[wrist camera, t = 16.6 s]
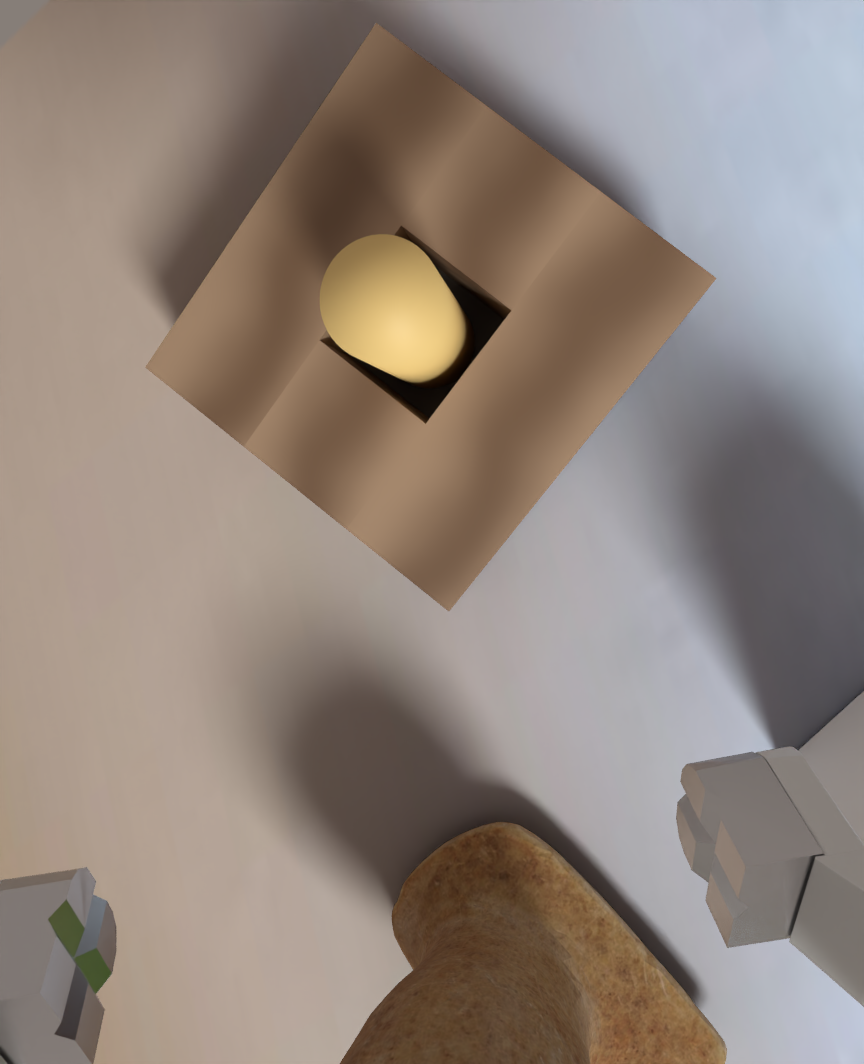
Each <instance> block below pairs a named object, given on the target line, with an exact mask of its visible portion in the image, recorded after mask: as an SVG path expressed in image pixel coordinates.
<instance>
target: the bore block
mask: <svg viewBox="0 0 864 1064" xmlns="http://www.w3.org/2000/svg"><path fill="white" fill-rule="evenodd" d="M377 234H388V235H394V236H398V237H401V238H404V239H406V240H408V241H410V242H412V243H414V244H415V245H417V246H418V247H419V248H420V249H421V250H422V251H424V252H425V254H426V255H427V256H428V257H429V258H430V260H431V261H432V263H433V265H434V266H435V268H436V269H437V271H438V272H439V274H440V275H441V277H442V278H443V280H444V282H445V283H446V285H447V286H448V288H449V289H450V291H451V292H452V294H453V295H454V297H455V298H456V300H457V302H458V303H459V305H460V306H461V308H462V309H463V311H464V312H465V314H466V315H467V317H468V319H469V320H470V322H471V325H472V328H473V331H474V337H475V346H474V353H473V356H472V359H471V361H470V363H469V366H468V367H467V369H466V370H465V371H464V372H463V374H462V375H461V376H460V377H459V378H457V379H456V380H455V381H453V382H452V383H450V384H448V385H445V386H443V387H439V388H432V389H427V388H420V387H416V386H413V385H411V384H409V383H407V382H405V381H403V380H401V379H399V378H397V377H395V376H393V375H391V374H389V373H387V372H385V371H383V370H380V369H378V368H376V367H374V366H372V365H370V364H368V363H366V362H364V361H362V360H360V359H358V358H356V357H354V356H352V355H350V354H348V353H347V352H345V351H344V350H343V349H342V348H340V347H339V346H338V345H337V344H336V343H335V341H334V340H333V339H332V338H331V336H330V334H329V333H328V331H327V329H326V327H325V325H324V322H323V319H322V316H321V311H320V289H321V284H322V281H323V277H324V275H325V272H326V270H327V268H328V266H329V265H330V263H331V262H332V260H333V259H334V258H335V256H336V255H337V254H338V253H339V252H340V251H341V250H342V249H343V248H345V247H346V246H347V245H349V244H350V243H352V242H354V241H356V240H358V239H360V238H363V237H366V236H370V235H377ZM715 280H716V278H715V277H714V276H713V275H711V274H710V273H709V272H707V271H706V270H705V269H703V268H702V267H701V266H699V265H698V264H697V263H695V262H694V261H693V260H691V259H690V258H689V257H687V256H686V255H685V254H683V253H682V252H681V251H679V250H678V249H677V248H675V247H674V246H673V245H671V244H670V243H669V242H667V241H666V240H665V239H663V238H662V237H661V236H659V235H658V234H657V233H655V232H654V231H653V230H651V229H650V228H649V227H647V226H646V225H645V224H643V223H642V222H641V221H639V220H638V219H637V218H635V217H634V216H633V215H631V214H630V213H629V212H627V211H626V210H625V209H623V208H622V207H621V206H619V205H618V204H617V203H615V202H614V201H613V200H611V199H610V198H609V197H607V196H606V195H605V194H603V193H602V192H601V191H599V190H598V189H597V188H595V187H594V186H593V185H591V184H590V183H589V182H587V181H586V180H585V179H583V178H582V177H581V176H579V175H578V174H577V173H575V172H574V171H573V170H571V169H570V168H569V167H568V166H566V165H565V164H564V163H562V162H561V161H560V160H558V159H557V158H556V157H554V156H553V155H552V154H550V153H549V152H548V151H546V150H545V149H544V148H542V147H541V146H540V145H538V144H537V143H536V142H534V141H533V140H532V139H530V138H529V137H528V136H526V135H525V134H524V133H522V132H521V131H520V130H518V129H517V128H516V127H514V126H513V125H512V124H510V123H509V122H508V121H506V120H505V119H504V118H502V117H501V116H500V115H498V114H497V113H496V112H494V111H493V110H492V109H490V108H489V107H488V106H486V105H485V104H484V103H482V102H481V101H480V100H478V99H477V98H476V97H474V96H473V95H472V94H470V93H469V92H468V91H466V90H465V89H464V88H462V87H461V86H460V85H458V84H457V83H456V82H454V81H453V80H452V79H450V78H449V77H448V76H446V75H445V74H444V73H442V72H441V71H440V70H438V69H437V68H436V67H434V66H433V65H432V64H430V63H429V62H428V61H426V60H425V59H424V58H422V57H421V56H420V55H418V54H417V53H416V52H414V51H413V50H412V49H410V48H409V47H408V46H406V45H405V44H404V43H402V42H401V41H400V40H398V39H397V38H396V37H394V36H393V35H392V34H390V33H389V32H388V31H386V30H385V29H384V28H382V27H381V26H380V25H378V24H377V23H376V24H375V25H374V27H373V28H372V30H371V31H370V33H369V34H368V36H367V37H366V39H365V40H364V42H363V43H362V45H361V46H360V48H359V49H358V51H357V52H356V54H355V55H354V57H353V58H352V60H351V61H350V63H349V64H348V66H347V67H346V69H345V70H344V71H343V73H342V74H341V76H340V77H339V79H338V80H337V82H336V83H335V85H334V86H333V88H332V89H331V91H330V92H329V94H328V95H327V97H326V98H325V100H324V101H323V103H322V104H321V106H320V107H319V109H318V110H317V112H316V113H315V115H314V116H313V118H312V119H311V121H310V122H309V124H308V125H307V127H306V128H305V130H304V131H303V133H302V134H301V136H300V137H299V139H298V140H297V142H296V143H295V145H294V146H293V148H292V149H291V151H290V152H289V154H288V155H287V157H286V158H285V160H284V161H283V163H282V164H281V166H280V167H279V169H278V170H277V171H276V173H275V174H274V176H273V177H272V179H271V180H270V182H269V183H268V185H267V186H266V188H265V189H264V191H263V192H262V194H261V195H260V197H259V198H258V200H257V201H256V203H255V204H254V206H253V207H252V209H251V210H250V212H249V213H248V215H247V216H246V218H245V219H244V221H243V222H242V224H241V225H240V227H239V228H238V230H237V231H236V233H235V234H234V236H233V237H232V239H231V240H230V242H229V243H228V245H227V246H226V248H225V249H224V251H223V252H222V254H221V255H220V257H219V258H218V260H217V261H216V263H215V264H214V266H213V267H212V268H211V270H210V271H209V273H208V274H207V276H206V277H205V279H204V280H203V282H202V283H201V285H200V286H199V288H198V289H197V291H196V292H195V294H194V295H193V297H192V298H191V300H190V301H189V303H188V304H187V306H186V307H185V309H184V310H183V312H182V313H181V315H180V316H179V318H178V319H177V321H176V322H175V324H174V325H173V327H172V328H171V330H170V331H169V333H168V334H167V336H166V337H165V339H164V340H163V342H162V343H161V345H160V346H159V348H158V349H157V351H156V352H155V354H154V355H153V357H152V358H151V360H150V361H149V363H148V364H147V365H146V368H147V369H148V370H149V371H151V372H152V373H153V374H154V375H155V376H157V377H158V378H159V379H160V380H162V381H163V382H164V383H165V384H167V385H168V386H169V387H170V388H172V389H173V390H174V391H175V392H177V393H178V394H179V395H180V396H182V397H183V398H184V399H185V400H187V401H188V402H189V403H190V404H192V405H193V406H194V407H195V408H197V409H198V410H199V411H200V412H201V413H203V414H204V415H205V416H206V417H208V418H209V419H210V420H211V421H213V422H214V423H215V424H216V425H218V426H219V427H220V428H221V429H223V430H224V431H225V432H226V433H228V434H229V435H230V436H231V437H233V438H234V439H235V440H236V441H238V442H239V443H240V444H241V445H243V446H244V447H245V448H246V449H247V450H249V451H250V452H251V453H252V454H254V455H255V456H256V457H257V458H259V459H260V460H261V461H262V462H264V463H265V464H266V465H267V466H269V467H270V468H271V469H272V470H274V471H275V472H276V473H277V474H279V475H280V476H281V477H282V478H284V479H285V480H286V481H287V482H289V483H290V484H291V485H292V486H293V487H295V488H296V489H297V490H298V491H300V492H301V493H302V494H303V495H305V496H306V497H307V498H308V499H310V500H311V501H312V502H313V503H315V504H316V505H317V506H318V507H320V508H321V509H322V510H323V511H325V512H326V513H327V514H328V515H330V516H331V517H332V518H333V519H335V520H336V521H337V522H338V523H340V524H341V525H342V526H343V527H344V528H346V529H347V530H348V531H349V532H351V533H352V534H353V535H354V536H356V537H357V538H358V539H359V540H361V541H362V542H363V543H364V544H366V545H367V546H368V547H369V548H371V549H372V550H373V551H374V552H376V553H377V554H378V555H379V556H381V557H382V558H383V559H384V560H386V561H387V562H388V563H389V564H390V565H392V566H393V567H394V568H395V569H397V570H398V571H399V572H400V573H402V574H403V575H404V576H405V577H407V578H408V579H409V580H410V581H412V582H413V583H414V584H415V585H417V586H418V587H419V588H420V589H422V590H423V591H424V592H425V593H427V594H428V595H429V596H430V597H432V598H433V599H434V600H435V601H436V602H438V603H439V604H440V605H441V606H443V607H444V608H445V609H446V610H448V611H450V609H451V608H452V607H453V606H454V604H455V603H456V602H457V601H458V599H459V598H460V597H461V596H462V594H463V593H464V592H465V591H466V589H467V588H468V587H469V586H470V585H471V583H472V582H473V581H474V580H475V578H476V577H477V576H478V575H479V573H480V572H481V571H482V570H483V568H484V567H485V566H486V565H487V563H488V562H489V561H490V560H491V558H492V557H493V556H494V555H495V553H496V552H497V551H498V550H499V548H500V547H501V546H502V545H503V543H504V542H505V541H506V540H507V538H508V537H509V536H510V535H511V533H512V532H513V531H514V530H515V528H516V527H517V526H518V525H519V524H520V522H521V521H522V520H523V519H524V517H525V516H526V515H527V514H528V512H529V511H530V510H531V509H532V507H533V506H534V505H535V504H536V502H537V501H538V500H539V499H540V497H541V496H542V495H543V494H544V492H545V491H546V490H547V489H548V487H549V486H550V485H551V484H552V482H553V481H554V480H555V479H556V477H557V476H558V475H559V474H560V472H561V471H562V470H563V469H564V467H565V466H566V465H567V464H568V463H569V461H570V460H571V459H572V458H573V456H574V455H575V454H576V453H577V451H578V450H579V449H580V448H581V446H582V445H583V444H584V443H585V441H586V440H587V439H588V438H589V436H590V435H591V434H592V433H593V431H594V430H595V429H596V428H597V426H598V425H599V424H600V423H601V421H602V420H603V419H604V418H605V416H606V415H607V414H608V413H609V411H610V410H611V409H612V408H613V406H614V405H615V404H616V403H617V402H618V400H619V399H620V398H621V397H622V395H623V394H624V393H625V392H626V390H627V389H628V388H629V387H630V385H631V384H632V383H633V382H634V380H635V379H636V378H637V377H638V375H639V374H640V373H641V372H642V370H643V369H644V368H645V367H646V365H647V364H648V363H649V362H650V360H651V359H652V358H653V357H654V355H655V354H656V353H657V352H658V350H659V349H660V348H661V347H662V345H663V344H664V343H665V342H666V341H667V339H668V338H669V337H670V336H671V334H672V333H673V332H674V331H675V329H676V328H677V327H678V326H679V324H680V323H681V322H682V321H683V319H684V318H685V317H686V316H687V314H688V313H689V312H690V311H691V309H692V308H693V307H694V306H695V304H696V303H697V302H698V301H699V299H700V298H701V297H702V296H703V294H704V293H705V292H706V291H707V289H708V288H709V287H710V286H711V284H712V283H713V282H714V281H715Z"/></svg>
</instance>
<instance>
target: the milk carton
mask: <svg viewBox="0 0 864 1064" xmlns="http://www.w3.org/2000/svg"><path fill="white" fill-rule="evenodd" d="M798 751H799V752H800V753H801V754H802V755H803V757H804V758H805V760H806V761H807V763H808V764H809V766H810V767H811V769H812V770H813V771H814V773H815V774H816V776H817V777H818V779H819V780H820V782H821V783H822V785H823V786H824V787H825V789H826V790H827V792H828V793H829V795H830V796H831V798H832V799H833V801H834V802H835V803H836V805H837V806H838V808H839V809H840V811H841V812H842V814H843V815H844V817H845V818H846V819H847V821H848V822H849V824H850V825H851V827H852V828H853V830H854V831H855V833H856V834H857V836H858V837H859V838H860V840H861V841H862V843H863V844H864V691H863V692H862V693H861V694H860V695H859V696H858V697H856V698H855V699H854V700H853V701H852V702H851V703H850V704H849V705H848V706H847V707H845V708H844V709H843V710H842V711H841V712H840V713H839V714H838V715H837V716H836V717H834V718H833V719H832V720H831V721H830V722H829V723H828V724H827V725H826V726H825V727H823V728H822V729H821V730H820V731H819V732H818V733H817V734H816V735H815V736H814V737H812V738H811V739H810V740H809V741H808V742H807V743H806V744H805V745H804V746H803V747H801V748H800V749H799V750H798Z"/></svg>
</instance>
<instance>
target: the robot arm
mask: <svg viewBox="0 0 864 1064" xmlns="http://www.w3.org/2000/svg"><path fill="white" fill-rule="evenodd" d="M680 782H681V784H682V786H683V788H684V790H685V792H686V794H685V795H684V796H683V797H682V798H681V799H680V800H679V801H678V804H677V815H676V820H677V826H678V833H679V838H680V841H681V844H682V848H683V851H684V854H685V856H686V858H687V860H688V863H689V865H690V867H691V870H692V871H693V872H695V873H696V874H698V875H699V876H700V877H702V878H703V879H704V880H706V881H707V882H708V883H709V884H708V890H707V895H706V903H707V905H708V907H709V909H710V911H711V913H712V916H713V918H714V920H715V922H716V924H717V926H718V929H719V931H720V933H721V935H722V937H723V939H724V942H725V944H726V946H727V948H729V947H736V946H742V945H748V944H755V943H761V942H768V941H774V940H781V939H787V938H790V941H789V942H790V943H791V944H792V945H794V946H795V947H796V948H797V949H798V950H799V951H800V952H802V953H803V954H804V955H805V956H806V957H807V958H808V959H810V960H811V961H812V962H813V963H814V964H815V965H816V966H818V967H819V968H820V969H821V970H822V971H823V972H824V973H826V974H827V975H828V976H829V977H830V978H831V979H832V980H834V981H835V982H836V983H837V984H838V985H839V986H840V987H842V988H843V989H844V990H845V991H846V992H847V993H848V994H850V995H851V996H852V997H853V998H854V999H855V1000H856V1001H858V1002H859V1003H860V1004H861V1005H862V1006H863V1007H864V844H863V843H862V841H861V840H860V838H859V837H858V836H857V834H856V833H855V831H854V830H853V828H852V827H851V825H850V824H849V822H848V821H847V819H846V818H845V817H844V815H843V814H842V812H841V811H840V809H839V808H838V806H837V805H836V803H835V802H834V801H833V799H832V798H831V796H830V795H829V793H828V792H827V790H826V789H825V787H824V786H823V785H822V783H821V782H820V780H819V779H818V777H817V776H816V774H815V773H814V771H813V770H812V769H811V767H810V766H809V764H808V763H807V761H806V760H805V758H804V757H803V755H802V754H801V753H800V752H799V751H798V750H797V749H795V748H794V747H782V748H777V749H771V750H766V751H761V752H756V753H754V752H748V753H743V754H738V755H732V756H727V757H722V758H716V759H711V760H706V761H700V762H695V763H690V764H686V765H685V767H684V768H683V769H682V775H681V781H680ZM95 884H96V881H95V879H94V878H93V876H92V874H91V873H90V871H89V870H88V868H87V867H85V868H78V869H72V870H65V871H59V872H52V873H45V874H39V875H32V876H26V877H19V878H12V879H4V880H0V1064H93V1062H94V1058H95V1053H96V1048H97V1043H98V1039H99V1034H100V1029H101V1024H102V1020H103V1015H104V1010H105V1009H104V1008H103V1006H102V1004H101V1002H100V1000H99V998H98V996H97V995H96V993H97V992H98V991H99V990H100V988H101V987H102V986H103V985H104V983H105V982H106V981H107V979H108V978H109V977H110V976H111V974H112V971H113V966H114V960H115V955H116V924H115V920H114V915H113V911H112V910H111V908H110V906H109V904H108V902H107V901H106V900H104V899H102V898H99V897H97V896H95V895H93V892H94V888H95Z"/></svg>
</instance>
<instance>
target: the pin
mask: <svg viewBox="0 0 864 1064" xmlns="http://www.w3.org/2000/svg"><path fill="white" fill-rule="evenodd" d="M320 311H321V316H322V319H323V322H324V325H325V327H326V329H327V331H328V333H329V334H330V336H331V338H332V339H333V340H334V341H335V343H336V344H337V345H338V346H339V347H340V348H342V349H343V350H344V351H345V352H347V353H348V354H350V355H352V356H354V357H356V358H358V359H360V360H362V361H364V362H366V363H368V364H370V365H372V366H374V367H376V368H378V369H380V370H383V371H385V372H387V373H389V374H391V375H393V376H395V377H397V378H399V379H401V380H403V381H405V382H407V383H409V384H411V385H413V386H416V387H420V388H427V389H432V388H439V387H443V386H445V385H448V384H450V383H452V382H453V381H455V380H456V379H457V378H459V377H460V376H461V375H462V374H463V372H464V371H465V370H466V369H467V367H468V366H469V363H470V361H471V359H472V356H473V353H474V346H475V337H474V331H473V328H472V325H471V322H470V320H469V319H468V317H467V315H466V314H465V312H464V311H463V309H462V308H461V306H460V305H459V303H458V302H457V300H456V298H455V297H454V295H453V294H452V292H451V291H450V289H449V288H448V286H447V285H446V283H445V282H444V280H443V278H442V277H441V275H440V274H439V272H438V271H437V269H436V268H435V266H434V265H433V263H432V261H431V260H430V258H429V257H428V256H427V255H426V254H425V252H424V251H422V250H421V249H420V248H419V247H418V246H417V245H415V244H414V243H412V242H410V241H408V240H406V239H404V238H401V237H398V236H394V235H388V234H377V235H370V236H366V237H363V238H360V239H358V240H356V241H354V242H352V243H350V244H349V245H347V246H346V247H345V248H343V249H342V250H341V251H340V252H339V253H338V254H337V255H336V256H335V258H334V259H333V260H332V262H331V263H330V265H329V266H328V268H327V270H326V272H325V275H324V277H323V281H322V284H321V289H320Z"/></svg>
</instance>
